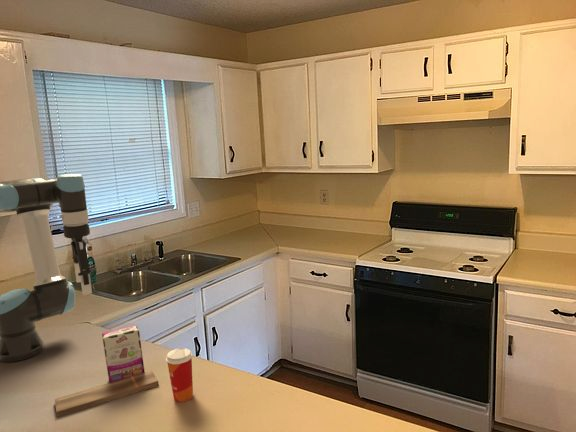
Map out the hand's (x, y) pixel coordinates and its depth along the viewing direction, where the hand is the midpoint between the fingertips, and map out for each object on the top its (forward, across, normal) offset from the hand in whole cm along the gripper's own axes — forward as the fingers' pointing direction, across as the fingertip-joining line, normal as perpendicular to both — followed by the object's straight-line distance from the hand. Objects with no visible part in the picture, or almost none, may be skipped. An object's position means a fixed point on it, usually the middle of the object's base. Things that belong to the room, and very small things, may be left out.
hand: (84, 287), depth 152 cm
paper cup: (+29, +33, +20) cm, 48 cm away
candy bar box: (+30, +11, +8) cm, 33 cm away
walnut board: (+29, +18, +1) cm, 34 cm away
